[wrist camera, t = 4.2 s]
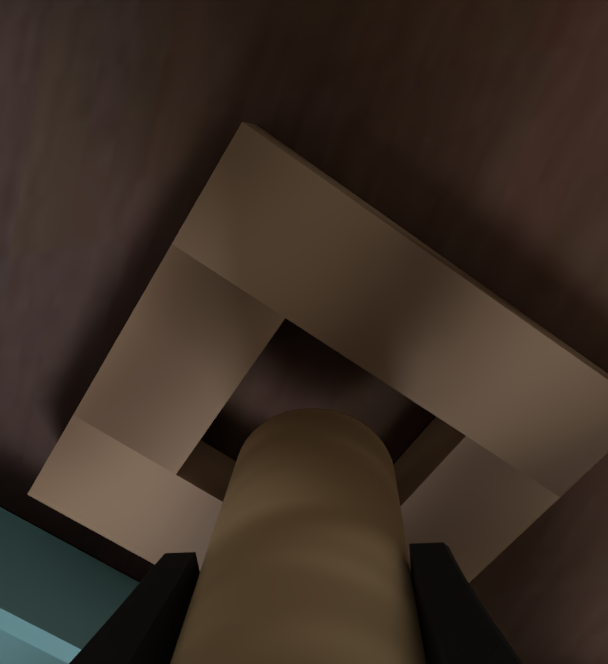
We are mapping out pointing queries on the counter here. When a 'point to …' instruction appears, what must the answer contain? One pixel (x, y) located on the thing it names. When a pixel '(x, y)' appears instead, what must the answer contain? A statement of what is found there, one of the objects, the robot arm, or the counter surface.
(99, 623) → the tray
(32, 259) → the counter surface
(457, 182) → the counter surface
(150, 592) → the robot arm
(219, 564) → the dowel
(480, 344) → the socket block
